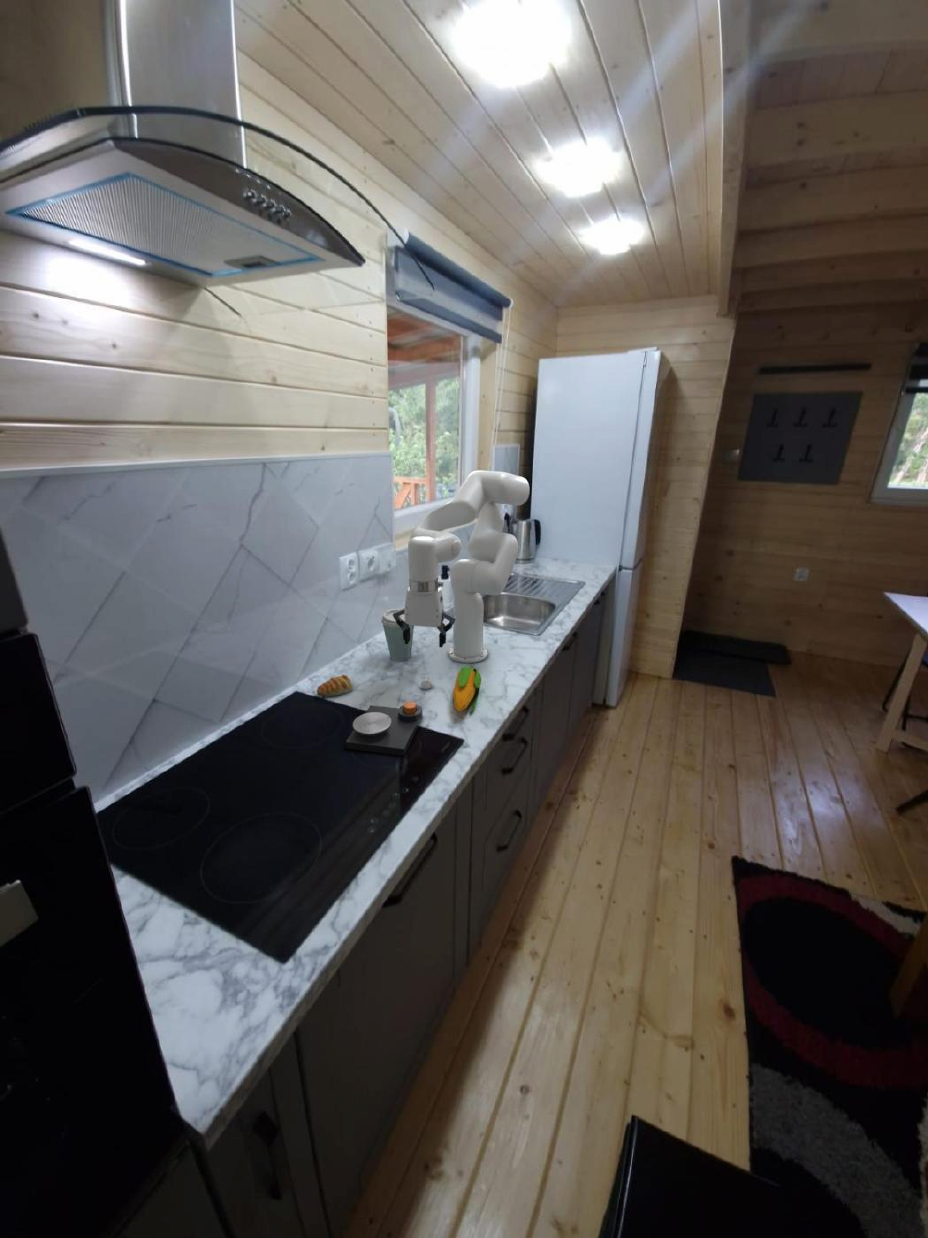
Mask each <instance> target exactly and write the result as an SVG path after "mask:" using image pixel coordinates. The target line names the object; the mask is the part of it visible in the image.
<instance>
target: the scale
mask: <svg viewBox="0 0 928 1238" xmlns="http://www.w3.org/2000/svg"><path fill="white" fill-rule="evenodd" d="M415 704H416V712H415V713H412V714H406V713H405V712H404V704H403V705H401V706H399V707H392V706H391V707H390V706H381V705H371V704H370V705H369V707H368V708H367V709H366V711H365V713H364V714H366V713H371V712H379V713H384V714H386V715H388V716H389V717H390V719H391V726H390V728H389V729H388V730H387V731H385V732H384V733H381V734H378V735H374V736H365V735H361V734H358V733H357V732H355V731H354V729H353V730H352V731H351V733H350V735H348V738H347V739H346V741H345V748H346V749H348V750H349V749H350V750H355V751H356V750H357V751H364V752H373V753H380V754H388V755H396V756H402V757H403V756H406V753H407V751H408V749H409V747H410V745H411V743H412V740H413V739H414V736H415V735H416V732H417V730H418V728H419V726H420V724H421V722H422V720H423V718H424V717H423V716H424V715H423V708H422V706H421V705H419V704H417V703H415Z"/></svg>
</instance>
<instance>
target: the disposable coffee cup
mask: <svg viewBox="0 0 928 1238" xmlns="http://www.w3.org/2000/svg"><path fill="white" fill-rule="evenodd" d="M401 609H402V608H392V609H391V608H390V609H388V610H386V611H384V612H383V613H382V617H381V622H380V623H381V624H382V627H383V631H384V636H385V640H386V644H387V645H386V646H387V648H388V649H387V650H388V654H389V656H390V658H391V659H392V660H394V661H397V662H398V661H399V662H402V661H406V660H408V659H411V655H412V648H413V640H414V632H415V626H414V625H409V627H410V639H411V640H410V642H409V643H408V644H405V640H403V631H402V630H401V627H400V626H399V625H398V624H397V623H396V621H395V619H394V617H393V614H394V612H396V611H399V610H401ZM400 618H401V619H402V620H403V621H404V622H405V614H403V615H400ZM405 623H406V622H405Z"/></svg>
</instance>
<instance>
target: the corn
mask: <svg viewBox="0 0 928 1238" xmlns="http://www.w3.org/2000/svg"><path fill="white" fill-rule="evenodd" d="M459 670H460V671H458V673H457V675H456V677H455V678H456V679H455V683H454V687H453V691H452V700H453V704H454V709H455V710H456V711H458V712H462V711H464V710H465V709H467V708H468V706H469V705H470V704H471V705H470V709H469V712H472V711H473V709H474V708H475V705H476V703H477V701H478V698H479V695H480V688H481V684H482V676H481V672H480V671H479V670H478V669H477V668H473V667H471V666H462V667H461V668H460V669H459Z"/></svg>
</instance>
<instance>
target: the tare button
mask: <svg viewBox="0 0 928 1238" xmlns="http://www.w3.org/2000/svg"><path fill="white" fill-rule="evenodd" d="M416 704H417V703H416V702H413V701H407V702H405V703H404V704H403V705H404V712H405V713H406V714H412V713H415V712H416Z"/></svg>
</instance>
